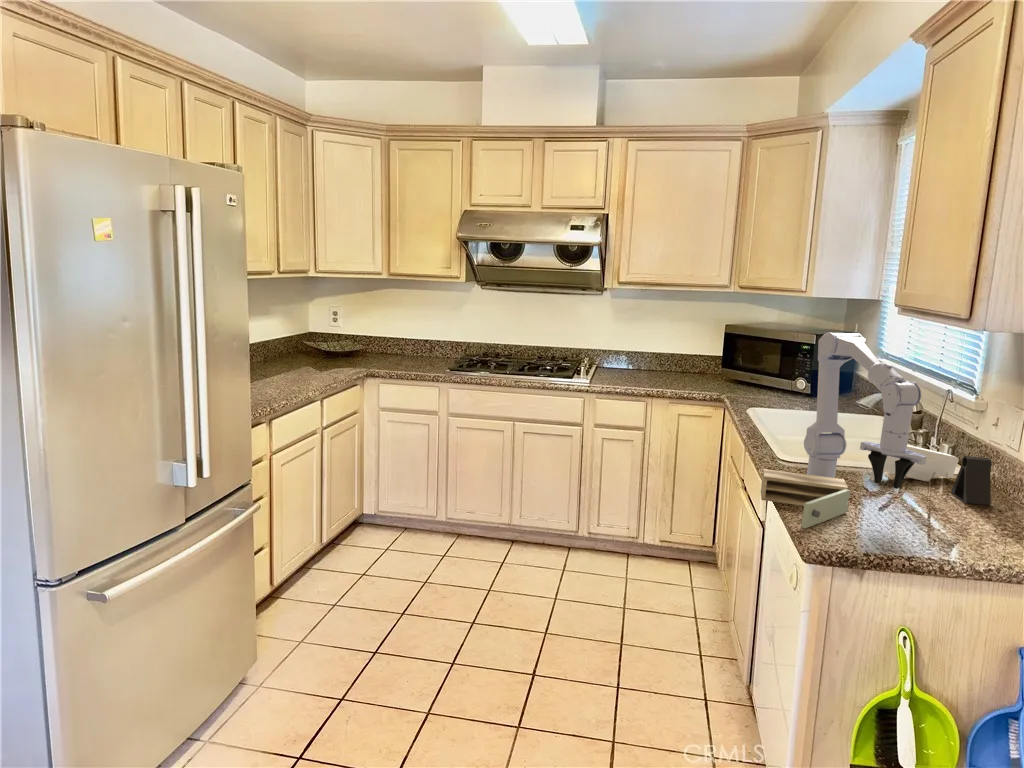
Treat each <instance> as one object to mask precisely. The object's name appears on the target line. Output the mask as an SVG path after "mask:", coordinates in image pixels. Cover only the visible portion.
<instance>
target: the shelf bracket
mask: <svg viewBox="0 0 1024 768" xmlns="http://www.w3.org/2000/svg"><path fill="white" fill-rule="evenodd" d="M907 450H909V451H912V452H915V453H918V454H921V455H925V456H927V457H926V464H923V465H920V464H917V463H914V465H913V466H912V467H911V468H910V470H909V471H908V472H907V474H906V475H905V477H906V478H910V479H914V480H920V481H923V482H930V481H931V479H936V478H940V477H943V478H944V477H945V478H948V479H952V478H953V477H954V474H955V472H956V468H957V467H958V464H959V461H960V459H959V458H958V457H957V456H955V455H951V454H949V453H944V452H940V451H935V450H930V449H927V448H922V447H918V446H914V445H908V444H907ZM897 460H900V459H899V458H895V457H891V456H887V458H886V461H885V465H884V469H883V473H884V472H887V473H889V474H893V475H895V461H897ZM905 477H904V478H905ZM869 480H871V481H873V482H875V480H874V472H873V468H872V470H871V473H870V476H869Z"/></svg>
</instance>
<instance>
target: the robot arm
mask: <svg viewBox="0 0 1024 768" xmlns="http://www.w3.org/2000/svg"><path fill="white" fill-rule="evenodd" d="M817 345H818V346H817V348H818V349H817V361H818V372H817V373H818V374H817V375H818V376H817V380H818V381H817V399H816V421H815V422H814V423H813V424H811V425H810V426H808V427H807V428H806V434H805V437H804V440H803V448H804V450H805V452H806V454H807V456H808V463H807V470H806V475H814V476H822V477H830V478H835V477H836V472H837V465H838V459H840V458H841V455H843V454H844V453H845V451H846V450H847V440H846V435H845V429H844V428H843V427H842V426H841V425H839V423H838V416H839V412H838V411H839V394H840V388H839V387H840V368H841V366H843V364H845V363H846V362H849V361H850V360H853V359H854V361H856V363H858V364H860V366H862V368H864V369H865V370H866V371H867V372H868V373H867V378H868V380H869V381H870V382H871V383H872V384H873V385H874V386H875V387H876V388H877V389H878V390H879V391H880V392H881V393H880V394H881V395H880V396H881V401H882V404H883V405H882V406H883V407H882V409H883V412H884V415H883V420H882V428H881V434H880V441H879V443H877V442H870V441H867V440H864V441H861V442H860V446H859V450H861V451H868V452H870V453H869V454H868V455H867V458H868V460H869V462H870V464H871V468H872V469H873V472H874V480H875V481H874V484H875V483H876V484H879V483H882V480H883V476H884V472H883V469H884V465H885V461H886V458H887V456H891V457H895V458H899V459H900V460H897V461H895V474H894V480H893V489H897V490H898V489H899V488H901V486H902V484H903V482H904V479H905V475H906V474H907V472H908V471H909V470H910V468H911V467H912V466H913V465H914V463H917V464H920V465H923V464H926V457H927V456H925V455H921V454H918V453H915V452H912V451H909V450H907V445H908V444H909V443H908V442H909V437H910V431H911V430H910V429H911V424H912V417H913V412H914V406H916V405H918V404H919V403H920V402H921V398H922V390H921V387H920V386H919V385H918V383H917V382H915V381H908V380H906V379H905V377H904V376H902V375H900V374H899V373H898V372H897V370H895V369H894V368H893V367H894V366H893V364H892V363H890V362H880V360H879V359H878V358H877V357H876V355H875V354H874V353H873V352H872V350H870V348H869V347H868V345H867V339H866V338H865V337H864V336H863V335H862V334H861V333H859V332H852V333H849V332H847V333H845V332H825V333H824V334H823V335H822V336H821V337H820V338H819V339H818V344H817Z"/></svg>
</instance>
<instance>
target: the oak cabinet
mask: <svg viewBox="0 0 1024 768" xmlns="http://www.w3.org/2000/svg"><path fill="white" fill-rule="evenodd" d="M848 488H849V487H848V485H847V483H846V480H845V479H844V478H838V477H836V478H830V477H822V476H814V475H807V473H798V472H796V473H795V472H790V471H789V472H788V471H782V470H775V469H766V468H763V469H762V478H761V488H760V499H761V500H762V501H766V502H774V503H781V504H782V503H783V504H787V505H793V506H794V505H796V506H801V507H802V506H803V507H804V503H806V502H809V501H812V500H815V499H818V498H821V497H824V496H827V495H830V494H833V493H836V492H839V491H842V490H844V489H847V490H849V489H848Z"/></svg>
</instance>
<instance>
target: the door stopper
mask: <svg viewBox="0 0 1024 768" xmlns="http://www.w3.org/2000/svg"><path fill="white" fill-rule="evenodd" d="M991 469H992V459H991V458H990V457H981V456H980V457H979V456H966V455H964V456H963V457H962V459H961V465H960V468H959V471H958V473H957V476H956V477H955V480H954V483H953V485H952V487H951V491H950V493H951V494H952V495H953V496H955V497H956V498H958V500H960V501H961V502H963V503H964V504H967V505H979V506H988V507H990V506H991V505H992V503H991V500H992V499H991V491H992V489H991V488H992V487H991Z"/></svg>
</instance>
